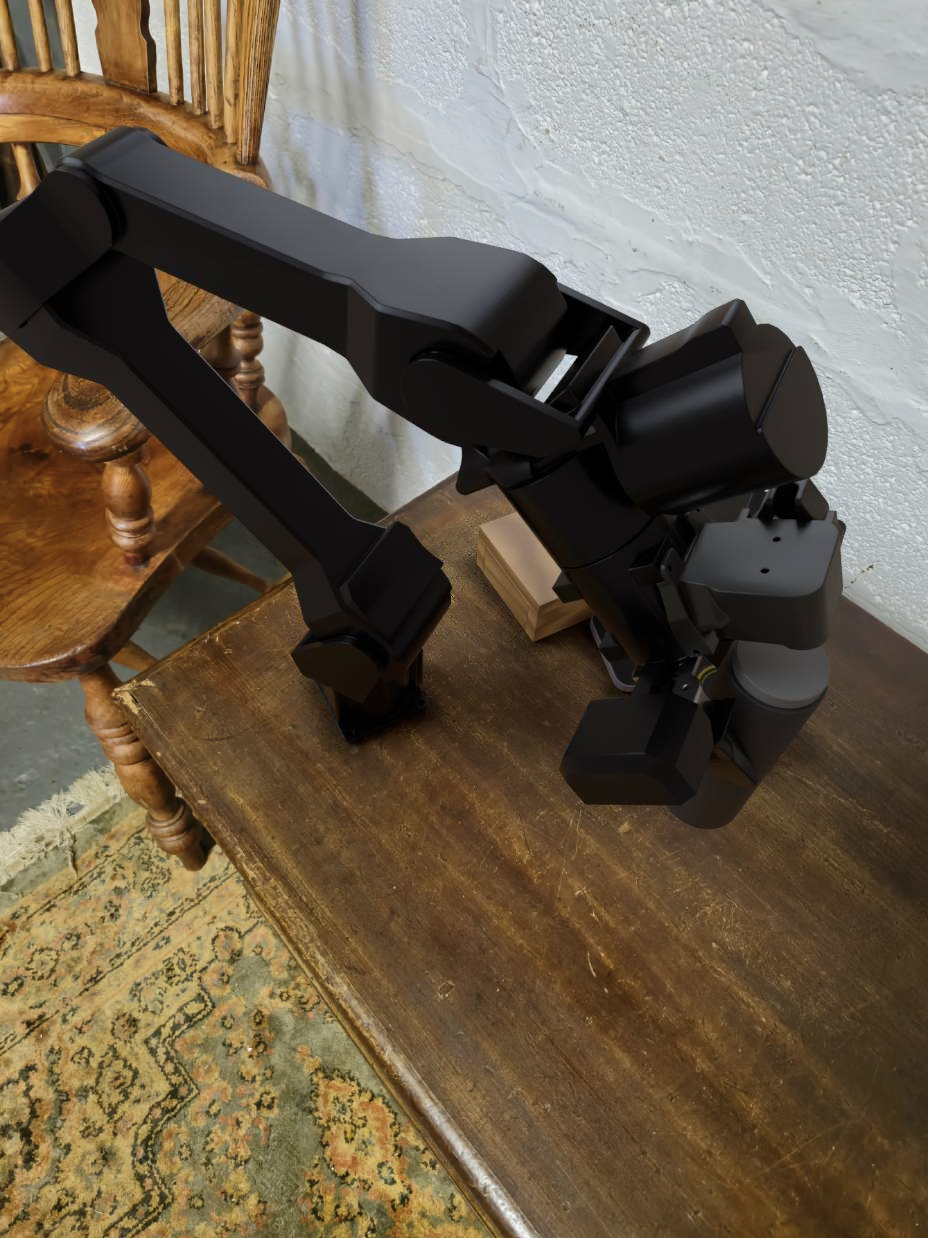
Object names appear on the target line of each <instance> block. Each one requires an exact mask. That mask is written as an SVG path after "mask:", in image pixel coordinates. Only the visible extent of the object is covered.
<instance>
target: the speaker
mask: <svg viewBox="0 0 928 1238" xmlns="http://www.w3.org/2000/svg"><path fill="white" fill-rule="evenodd" d="M829 661H830V660H829V658H828V656H827V654H826V653H825V651H824V650H823V648H822V647H821V646H819V647H817V648H815V649H811V650H793V649H789V648H787V647H786V646H784V645H777V644H768V643H759V642H749V641H740V640H735V641H734V642H733V643H732V644H731V646H730V647H729V649H728V651H727V653H726V655H725V657H724V659H723V661H722V662H721V664H720V666H719V668H718V670H717V672H716V674H715V676H714V678H713V679H712V681H711V683H710V685H709V687H708V689H707V691H706V694H707V695H708V697H709V698H710V699H721V698H732V697H736V698H737V702H736V704H735V707H734V710H733V713H732V716H731V718H730V721H729V724H728V726H729V727H730V729H731V731H732V732H733V734H734V735H735V737H736V739H737V740H738V742H739V744H740V745H741V747H742V749H743V750H744V752H745V753H746V755H747V757H748V758H749V760H750V762H751V764H752V766H753V768H754V770H755V772H756V775H757V777H758V782H757V785H756V786H738V785H735V784H733V783H731V782H728V781H726V780H724V779H721V778H719V777H717V776H714V775H712V774H710V773H707V772H704V775H703V778H702V780H701V783H700V786H699V789H698V792H697V794H696V795H695V796H694V797H692V798H691V799H689V800H688V801H687V802H685V803H684V804H682V805H681V806H671V805H666V807H667V809H668V810H669V811H670V812H671V813H672V815H673V816H675V817H676V818H677V819H678V820H679V821H681V822H683V823H684V824H686V825H688V826H689V827H693V828H697V829H701V830H716V829H720V828H723V827H725V826H727V825H729V824H730V823H731V822H732V821H733V820H734V819H735V818H736V817H737V816H738V815H739V813H740V811H741V810H743V808H744V806H745V805H746V803H747V802H748V801H749V799H750V798H751V797H752V795H753V794H754V793H755V792H756V790H757V789H758V788H759V786H760V785H761V783H762V782H763V781H764V779H765V778H766V777H767V775H768V774H769V773H770V771H771V770H772V769H773V768H774V766H775V765H776V763H777V762H778V761H779V760H780V758H781V756H783V754H784V753H785V751H786V750H787V748H788V747H789V746H790V745H791V744H792V742H793V740H794V739H795V738H796V736H797V735H798V734H799V732H800V731H801V730H802V729H803V727H804V726H805V724H806V723H807V722H808V721H809V719H810V718H811V716H812V715H813V714H814V712H815V711H816V710H817V709H818V708H819V706H820V704H821V703H822V702H823V700H824V699H825V697H826V695H827V692H828V689H829V682H830V679H831V666H830V662H829Z"/></svg>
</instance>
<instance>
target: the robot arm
mask: <svg viewBox="0 0 928 1238" xmlns="http://www.w3.org/2000/svg"><path fill="white" fill-rule="evenodd" d="M157 271H160V272H162V273H164V274H167V275H169V276H171V277H174V278H176V279H177V280H180V281H182V282H185V283H187V284H189V285H191V286H193V287H196V288H198V289H200V290H202V291H204V292H207V293H209V294H211V295H213V296H214V297H215V296H216V297H217V298H220V299H221V300H224V301H226V302H229V303H230V304H233V305H235V306H237V307H240V308H242V309H243V310H246V311H248V312H250V313H252V314H255V315H257V316H260V317H262V318H263V319H266V320H268V321H270V322H273V323H274V324H277V325H279V326H281V327H283V328H286V329H287V330H290V331H292V332H295V333H297V334H299V335H301V336H303V337H305V338H308V339H310V340H312V341H315V342H316V343H319V344H321V345H322V346H325V347H327V348H328V349H329V350H331V351H333V352H335V353H336V354H337V355H339V356H341V357H342V358H344V359H346V361H347V362H348V364H349V365H350V367H351V368H352V370H353V372H354V373H355V375H356V376H357V377H358V379H359V381H360V382H361V384H362V385H363V387H364V389H365V390H366V391H367V393H368V394H369V396H370V397H371V398H372V399H373V400H374V401H376V402H377V403H379V404H380V405H382V406H383V407H385V408H386V409H388V410H390V411H391V412H393V413H395V414H396V415H398V416H399V417H401V418H402V419H404V420H406V421H407V422H409V423H410V424H412V425H414V426H415V427H417V428H419V429H420V430H421V431H422V432H425V433H426V434H428V435H430V436H432V437H433V438H435V439H437V440H438V441H441V442H443V443H445V444H448V445H451V446H454V447H458V448H460V450H461V460H460V466H459V469H458V472H457V477H456V482H455V490H456V492H457V493H458V494H459V495H460V496H468V495H472V494H474V493H477V492H479V491H482V490H485V489H487V488H490V487H493V486H497V488H498V489H499V490H500V492H501V493H502V494H503V496H504V497H505V498H506V500H507V501H508V502H509V504H510V505H511V506H512V508H513V509H514V510H515V512H517V513H518V514H519V515H520V517H521V518H522V519H523V521H524V522H525V523H526V525H527V526H528V527H529V529H530V530H531V531H532V533H533V534H534V535H535V536H536V538H537V539H538V540H539V542H540V543H541V544H542V546H543V547H544V548H545V550H546V551H547V552H548V554H549V555H550V556H551V558H552V559H553V560H554V562H555V563H556V564H557V566H558V567H559V568H560V569H561V573H560V575H559V576H558V578H557V580H556V582H555V583H554V585H553V587H552V590H553V591H554V592H555V594H556V595H557V596H558V597H559V599H560V600H561V601H562V603H568V602H573V601H577V600H582V599H583V600H584V601H585V602H586V604H587V605H588V606H589V608H590V609H591V610H592V612H593V613H594V614H595V616H596V617H597V618H598V620H599V621H600V622H601V623H602V625H603V626H604V627H605V629H606V630H607V631H606V633H605V635H604V637H603V639H602V641H601V643H600V645H599V647H598V646H597V649H598V651H599V650H600V651H599V653H600V652H601V653H602V654H603V656H604V657H605V658H606V659H607V661H608V662H614V661H621V660H628V659H631V660H632V661H633V663H634V664H636V667H635V669H634V671H633V673H632V676H631V677H632V678H633V680H634V681H635V682H636V685H635V687H634V689H633V692H631V694H630V695H625V696H616V697H607V698H597V699H596V698H595V699H590V700H589V702H588V704H587V706H586V708H585V711H584V713H583V715H582V716H581V719H580V721H579V723H578V724H577V727H576V729H575V731H574V734H573V735H572V738H571V740H570V741H569V744H568V745H567V748H566V750H565V751H564V754H563V756H562V759H561V762H560V765H559V769H558V771H559V772H560V774H561V776H562V778H563V779H564V781H565V783H566V785H568V786H569V788H570V789H571V790H572V792H574V794H576V796H577V797H578V798H579V799H580V801H582V803H583V804H584V805H587V806H588V805H589V806H590V805H591V806H667V805H671V806H681V805H682V804H684V803H685V802H687V801H688V800H689V799H691V798H692V797H694V796H695V795H696V794H697V792H698V789H699V786H700V783H701V780H702V778H703V775H704V772H707V773H710V774H712V775H714V776H717V777H719V778H721V779H724V780H726V781H728V782H731V783H733V784H735V785H738V786H756V785H757V782H758V777H757V775H756V772H755V770H754V768H753V766H752V764H751V762H750V760H749V758H748V757H747V755H746V753H745V752H744V750H743V749H742V747H741V745H740V744H739V742H738V740H737V739H736V737H735V735H734V734H733V732H732V731H731V729H730V727H729V726H728V724H729V721H730V718H731V716H732V713H733V710H734V707H735V704H736V702H737V698H736V697H732V698H721V699H710V698H709V697H708V695H707V694H706V692H705V691H704V690H703V684H702V683H701V681H700V680H699V679H698V678H697V677H696V674H697V672H698V669H699V667H700V664H701V662H702V659H703V657H705V658H707V659H708V660H709V661H710V662H711V663H712V664H713V665H714V666H715V667H716V668H717V669H718V668H719V666H720V664H721V662H722V661H723V659H724V657H725V655H726V653H727V651H728V649H729V647H730V646H731V644H732V643H733V642H734V641H735V640H740V641H749V642H759V643H768V644H777V645H784V646H786V647H787V648H789V649H793V650H811V649H815V648H817V647H819V646H820V647H821V646H823V645H824V644H825V643H826V642H827V641H828V640H829V638H830V635H831V632H832V627H833V621H834V617H835V614H836V611H837V607H838V604H839V600H840V598H841V596H842V595H843V590H844V579H843V564H842V549H841V548H842V545H843V542H844V538H845V535H846V532H847V525H846V523H845V522H844V521H843V520H842V519H838V512H837V510H830V504H829V502H828V500H827V499H826V498H825V496H824V495H823V494H822V492H821V491H820V490H819V488H818V487H817V486H816V484H815V483H814V482H813V481H812V479H811V478H812V477H814V476H817V475H818V473H819V472H820V471H821V469H822V468H823V466H824V464H825V461H826V458H827V454H828V447H829V446H828V445H829V423H828V414H827V409H826V408H827V407H826V404H825V399H824V394H823V391H822V387H821V383H820V381H819V378H818V375H817V372H816V370H815V368H814V366H813V364H812V361H811V359H810V357H809V355H808V354H807V351H806V350H805V348H804V347H803V346H802V345H797V346H796V345H795V343H794V342H793V341H792V340H791V339H790V337H789V336H788V334H786V333H785V331H782V329H780V328H779V327H778V326H775V325H774V324H771V323H769V322H767V323H758V324H757V322H756V320H755V318H754V316H753V314H752V312H751V310H750V309H749V306H748V305H747V303H746V301H745V300H743V299H741V298H737V297H736V298H734V299H731V300H729V301H727V302H726V303H725V302H724V303H723V304H721V305H719V306H717V307H714V308H713V309H711V310H709V311H707V312H706V313H705V314H703V315H702V316H700V317H699V319H697V320H696V321H694V323H692V324H690V325H688V326H687V327H684V328H683V329H680V330H677V331H676V332H673V333H672V334H669V335H667V336H665V337H662V338H661V339H659V340H657V341H654V342H652V343H650V344H648V345H646V343H647V342H648V340H649V339H650V337H651V333H652V332H651V328H650V326H649V325H647V324H646V323H645V322H642V321H640V320H639V319H636V318H634V317H632V316H631V315H628V314H626V313H623V312H621V311H619V310H617V309H615V308H613V307H611V306H609V305H607V304H605V303H603V302H600V301H599V300H597V299H595V298H593V297H590V296H588V295H586V294H585V293H582V292H580V291H577V290H575V289H574V288H572V287H569V286H567V285H565V284H563V283H561V282H559V281H558V278H557V276H556V275H555V274H554V273H553V272H552V271H551V270H550V269H549V268H548V267H547V266H546V265H545V264H544V263H542V262H541V261H539V260H537V259H536V258H534V257H532V256H530V255H529V254H527V253H524V252H521V251H518V250H514V249H511V248H507V247H506V248H505V247H501V246H497V245H493V244H488V243H484V242H479V241H474V240H471V239H465V238H461V237H456V236H432V237H430V236H429V237H410V238H409V237H408V238H393V237H390V236H385V235H380V234H376V233H372V232H369V231H366V230H364V229H361V228H359V227H357V226H355V225H352V224H350V223H347V222H345V221H343V220H340V219H338V218H335V217H334V216H331V215H328V214H326V213H324V212H323V211H322V212H321V211H319V210H316V209H314V208H312V207H309V206H307V205H305V204H302V203H300V202H298V201H295V200H293V199H291V198H288V197H286V196H283V195H281V194H279V193H277V192H274V191H272V190H270V189H268V188H265V187H262V186H260V185H257V184H255V183H254V182H251V181H248V180H246V179H244V178H241V177H239V176H237V175H234V174H232V173H229V172H227V171H226V170H222V169H220V168H217V167H215V166H213V165H211V164H208V163H206V162H204V161H201V160H199V159H196V158H193V157H191V156H190V155H187V154H185V153H182V152H180V151H177V150H175V149H172V148H171V147H170V146H169V145H168V144H167V143H166V142H165V140H164V139H162V138H161V136H160V135H158V134H157V133H155V132H153V131H152V130H150V129H149V128H148V127H144V126H138V125H134V126H127V125H120V126H117V127H115V128H112V129H110V130H109V131H107V132H104V133H103V134H101V135H99V136H97V137H96V138H93V139H92V140H90V141H87V143H84V144H82V145H80V146H79V147H77V148H75V149H73V150H71V151H70V152H68V153H66V154H64V155H62V156H61V157H59V158H57V159H56V160H55V162H54V164H53V166H52V167H51V171H49V172H47V174H46V175H45V176H44V177H43V178H42V180H40V182H39V183H38V184H37V185H36V187H35V188H34V190H33V191H32V192H31V193H29V194H28V195H26V196H24V197H22V198H20V199H19V200H17V201H15V202H14V203H11V204H10V205H8V206H6V207H5V208H3V209H1V210H0V333H2V334H3V335H4V336H6V337H7V338H8V339H9V340H10V341H11V342H13V343H14V344H15V345H16V346H17V347H18V348H19V349H20V350H22V351H24V353H26V354H27V355H28V356H30V357H31V358H32V360H34V361H35V362H36V363H38V364H39V365H41V366H43V367H45V368H49V369H52V370H56V371H58V372H61V373H64V374H67V375H70V376H73V377H77V378H79V379H82V380H87V381H90V382H92V383H95V384H98V385H101V386H102V387H104V388H105V389H106V390H108V391H109V392H110V393H111V394H112V395H113V396H114V398H116V400H118V401H119V403H121V404H122V406H124V408H126V409H127V411H129V412H130V413H131V414H132V415H133V417H135V418H136V419H137V420H138V421H139V422H140V423H141V424H142V425H143V426H144V428H146V429H147V430H148V431H149V432H150V433H151V434H152V435H153V436H154V438H155V439H157V440H158V441H159V442H160V443H161V444H162V445H163V447H164V448H166V450H168V451H169V452H170V454H172V455H173V456H174V457H175V459H177V460H178V462H180V463H181V464H182V465H183V467H185V468H186V469H187V470H188V471H189V473H191V474H192V475H193V477H194V478H196V479H197V480H198V482H200V484H202V486H204V487H205V488H206V489H207V491H209V492H210V493H211V494H212V495H213V496H214V497H215V499H217V500H218V501H219V502H220V504H222V505H223V506H224V508H226V509H227V510H228V512H230V513H231V514H232V515H233V516H234V517H235V518H236V520H238V521H239V522H240V523H241V524H242V525H243V526H244V527H245V529H247V530H248V531H249V532H250V533H251V534H252V535H253V536H254V537H255V539H257V540H258V541H259V543H261V544H262V545H263V547H264V548H266V550H268V551H269V552H270V554H272V555H273V557H275V558H276V560H278V561H279V562H280V563H281V564H282V566H284V568H285V569H286V570H287V571H288V572H289V573H290V575H291V576H292V582H293V585H294V588H295V592H296V597H297V600H298V604H299V607H300V612H301V615H302V619H303V622H304V624H305V626H306V627H307V628H308V629H309V630H308V631H307V632H306V633H305V634H304V635H303V637H302V639H301V640H300V641H299V642H298V643H297V645H295V647H294V649H293V650H292V651H291V652H290V654H289V655H290V657H291V659H292V661H293V662H294V664H295V665H296V667H297V669H298V670H299V672H300V674H301V675H302V676H304V677H306V678H308V679H310V680H312V681H313V683H314V685H315V687H316V688H317V690H318V693H319V694H320V696H321V698H322V701H323V702H324V705H325V706H326V708H327V709H328V712H329V714H330V716H331V718H332V720H333V721H334V723H335V725H336V727H337V729H338V731H339V733H340V736H341V737H342V739H343V741H344V742H345V743H347V744H352V743H356V742H357V741H360V740H362V739H364V738H367V737H368V736H371V735H374V734H375V733H378V732H380V731H383V730H385V729H387V728H389V727H391V726H394V725H396V724H399V723H400V722H402V721H405V720H407V719H409V718H412V717H414V716H416V715H419V714H421V713H423V712H426V711H427V710H428V708H429V701H428V699H427V697H426V695H425V694H424V692H423V691H422V689H421V687H420V684H423V681H424V648H423V647H424V646H425V645H426V643H427V642H428V641H429V638H431V635H433V633H434V631H435V630H436V628H437V627H438V625H439V624H440V622H441V621H442V620H443V618H444V617H445V615H446V613H447V612H448V610H449V609H450V607H451V604H452V590H453V585H452V584H451V581H450V579H449V577H448V575H447V574H446V573H445V571H444V570H443V569H442V568H443V566H444V565H445V562H444V561H443V560H441V558H438V557H437V556H436V555H434V554H433V553H432V552H430V551H429V550H428V549H427V548H426V547H425V546H424V545H423V543H421V541H420V540H419V539H418V537H417V536H416V534H415V533H414V531H412V529H411V528H410V526H408V525H407V524H404V523H403V522H401V521H399V520H394V521H393V522H391V524H389V526H387V527H386V526H383V525H379V524H377V523H373V522H369V521H365V520H362V519H359V518H355V517H354V516H353V515H352V514H350V513H349V512H348V511H347V510H346V508H344V506H342V504H341V503H339V502H338V500H337V499H336V498H335V497H334V496H333V494H331V493H330V492H329V490H327V488H326V487H325V486H324V485H323V484H322V483H321V482H320V481H319V480H318V479H317V478H316V477H315V476H314V475H313V473H312V472H311V471H309V469H308V468H307V467H306V466H305V465H304V464H303V463H302V462H301V461H300V460H299V459H298V458H297V456H296V455H295V454H293V452H292V451H291V450H290V449H289V448H288V447H287V446H286V445H285V443H284V442H282V440H281V439H279V437H278V436H277V435H276V434H275V433H274V432H273V431H272V429H270V428H269V426H267V424H266V423H265V422H264V421H263V420H262V419H261V418H260V417H259V416H258V415H257V414H256V413H255V412H254V410H253V409H251V407H250V406H249V405H248V404H247V403H246V402H245V401H244V400H243V399H242V398H241V396H239V394H237V392H236V391H235V390H234V389H233V388H232V387H231V386H230V385H229V384H228V383H227V382H226V380H224V379H223V377H222V376H221V375H220V374H219V373H218V372H217V371H216V370H215V369H214V368H213V367H212V365H210V363H209V362H207V360H206V359H205V358H204V357H203V356H202V355H201V354H200V353H199V352H198V351H197V350H196V349H195V347H193V345H192V344H191V343H190V341H188V340H187V339H186V338H185V337H184V336H183V335H182V333H180V332H179V331H178V330H177V328H176V327H175V326H174V324H173V323H172V322H171V319H170V318H169V317H170V316H169V314H168V311H167V306H166V303H165V298H164V295H163V292H162V288H161V285H160V281H159V276H158V273H157ZM566 355H567V356H573V357H575V359H574V361H573V362H572V364H571V365H570V366H569V368H568V369H567V370H566V371H565V373H564V374H563V376H562V377H561V378H560V379H559V381H558V383H557V384H556V385H555V387H554V388H553V389H552V391H551V392H550V393H549V395H548V396H547V398H546V399H545V400H544V402H543V401H541V400H539V399H537V398H535V397H536V396H537V395H538V393H539V392H540V391H541V390H542V388H543V387H544V386H545V384H546V383H547V382H548V380H549V379H550V377H551V376H552V375H553V373H554V372H555V371H556V369H557V368H558V367H559V366H560V364H561V363H562V362H563V360H564V358H565V356H566ZM601 653H600V654H601ZM419 704H423V705H419ZM350 734H351V735H352V736H349V735H350Z"/></svg>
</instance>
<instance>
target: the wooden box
mask: <svg viewBox="0 0 928 1238" xmlns="http://www.w3.org/2000/svg"><path fill="white" fill-rule="evenodd" d="M476 553H477V554H476V565H477V566H478V567H479V569H480V570H481V571H482V573H483V574H484V576H485V577H486V579H487V580H488V582H489V583H490V584H491V586H492V587H493V589H494V590H495V591H496V593H497V594H498V595H499V597H500V598H501V599H502V601H503V602H504V604H505V605H506V606H507V608H508V609H509V611H510V612H511V613H512V615H513V616H514V617H515V619H516V621H517V622H518V623H519V624H520V626H521V627H522V629H523V630H524V631H525V634H527V636H528V637H529V639H530V640H531V641H532V642H533V643H534V642H537V641H539V640H542V639H543V638H546V637H548V636H551V635H553V634H555V633H558V632H560V631H562V630H564V629H567V628H569V627H572V626H574V625H576V624H579V623H582V622H584V621H586V620H589V619H591V617H592V615H593V614H594V613H593V612H592V610H591V609H590V608H589V606H588V605H587V604H586V602H585V601H584V600H583V599H582V600H577V601H573V602H568V603H562V601H561V600H560V599H559V597H558V596H557V595H556V594H555V592H554V591H553V590H552V587H553V585H554V583H555V582H556V580H557V578H558V576H559V575H560V573H561V569H560V568H559V567H558V566H557V564H556V563H555V562H554V560H553V559H552V558H551V556H550V555H549V554H548V552H547V551H546V550H545V548H544V547H543V546H542V544H541V543H540V542H539V540H538V539H537V538H536V536H535V535H534V534H533V533H532V531H531V530H530V529H529V527H528V526H527V525H526V523H525V522H524V521H523V519H522V518H521V517H520V515H519V514H518V513H517V511H515V512H512V513H509V514H506V515H504V516H501V517H498V518H495V519H493V520H490V521H487V522H485V523H482V524H480V525H479V526H478V541H477V552H476Z"/></svg>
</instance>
